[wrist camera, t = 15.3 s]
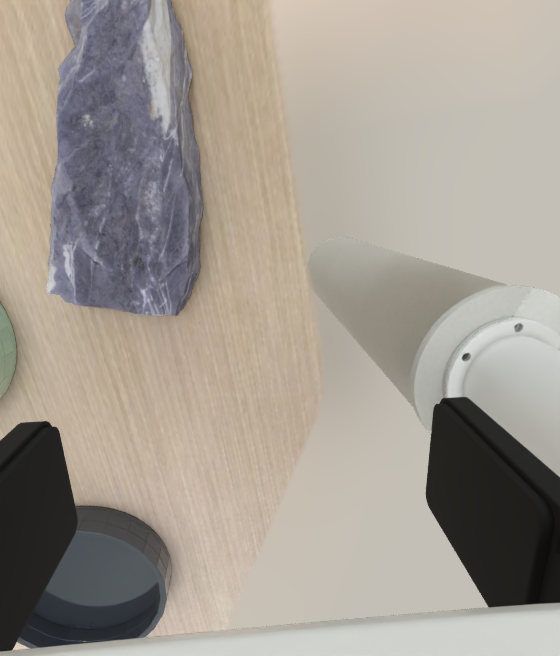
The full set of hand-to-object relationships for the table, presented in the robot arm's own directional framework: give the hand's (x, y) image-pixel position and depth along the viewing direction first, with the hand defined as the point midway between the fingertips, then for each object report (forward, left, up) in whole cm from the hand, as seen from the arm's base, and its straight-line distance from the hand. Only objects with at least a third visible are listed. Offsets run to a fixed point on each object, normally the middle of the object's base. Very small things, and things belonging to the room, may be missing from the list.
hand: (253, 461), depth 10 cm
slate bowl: (-1, +34, -25) cm, 43 cm away
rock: (+13, -5, -25) cm, 29 cm away
